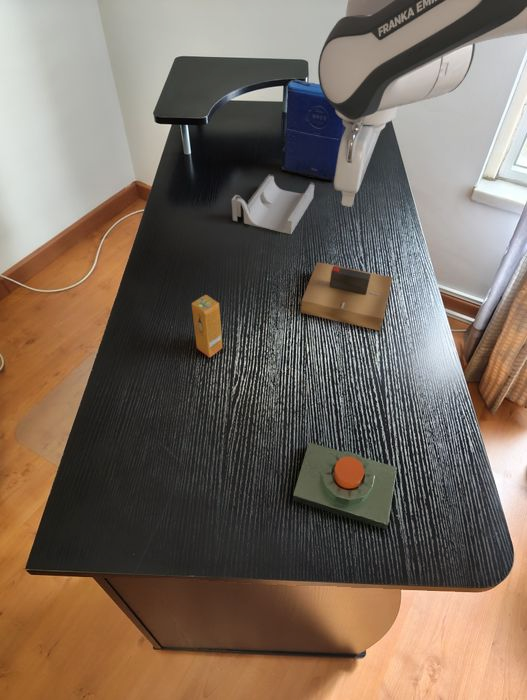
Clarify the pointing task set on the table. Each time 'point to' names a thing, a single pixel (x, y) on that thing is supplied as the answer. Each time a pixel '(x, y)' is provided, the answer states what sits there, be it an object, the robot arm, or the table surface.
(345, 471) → the button
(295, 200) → the white curved channel piece
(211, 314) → the supplement box
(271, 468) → the table surface
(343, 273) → the dark grey block
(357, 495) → the button box
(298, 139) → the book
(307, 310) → the control panel
